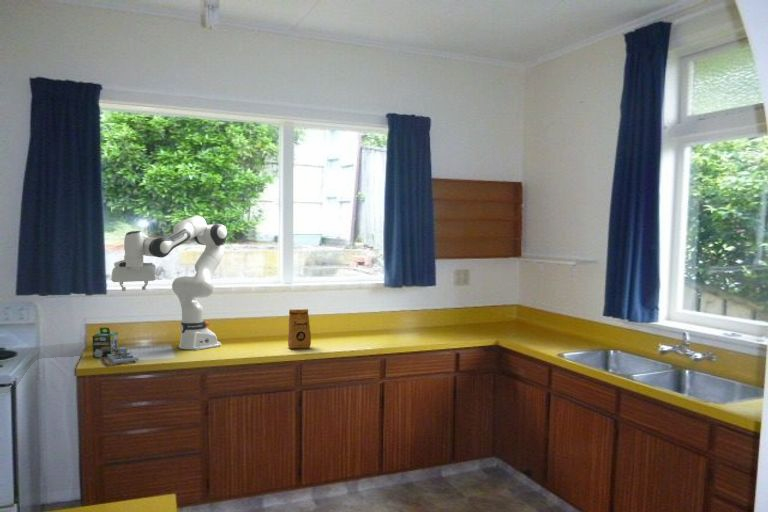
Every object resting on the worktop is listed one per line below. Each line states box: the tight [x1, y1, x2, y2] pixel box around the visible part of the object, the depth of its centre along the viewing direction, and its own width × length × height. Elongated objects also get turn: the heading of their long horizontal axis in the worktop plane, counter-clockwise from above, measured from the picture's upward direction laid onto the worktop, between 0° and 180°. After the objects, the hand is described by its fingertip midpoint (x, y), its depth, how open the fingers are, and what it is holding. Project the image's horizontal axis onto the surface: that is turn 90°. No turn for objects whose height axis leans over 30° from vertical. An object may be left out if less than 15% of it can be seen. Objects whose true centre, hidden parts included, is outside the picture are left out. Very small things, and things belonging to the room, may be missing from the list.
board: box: [101, 347, 136, 368], centre depth 267 cm, size 12×16×5 cm
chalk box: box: [91, 326, 119, 358], centre depth 279 cm, size 9×9×15 cm
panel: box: [107, 346, 139, 363], centre depth 269 cm, size 11×15×5 cm
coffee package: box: [287, 308, 312, 350], centre depth 305 cm, size 10×12×22 cm
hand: (133, 290), depth 275 cm, fingers open, 8 cm apart
